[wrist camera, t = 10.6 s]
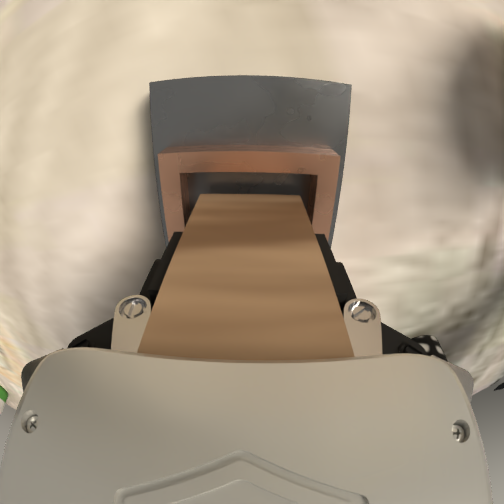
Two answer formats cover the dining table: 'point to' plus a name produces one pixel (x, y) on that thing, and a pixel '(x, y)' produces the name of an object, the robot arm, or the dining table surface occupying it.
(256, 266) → the gripped brown wooden block
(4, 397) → the wine bottle
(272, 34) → the dining table surface
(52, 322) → the dining table surface
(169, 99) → the rail
